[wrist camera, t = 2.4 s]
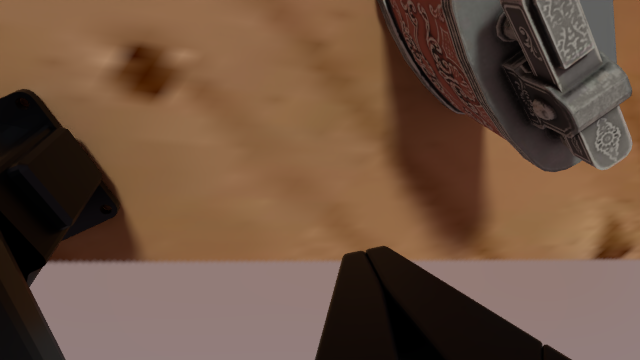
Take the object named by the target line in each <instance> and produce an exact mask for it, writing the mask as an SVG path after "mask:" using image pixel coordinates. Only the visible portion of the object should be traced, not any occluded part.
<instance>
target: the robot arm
mask: <svg viewBox="0 0 640 360" xmlns="http://www.w3.org/2000/svg"><path fill="white" fill-rule="evenodd" d="M20 98H25V99H26V100H27V101H28V102H29V104H30V105H29V107H25V106H23V105H22V104H21V103H20ZM105 204H106V205H109V206H110V207H111V210H106V209H104V208H103V206H102V205H105ZM118 210H119V202H118V201H117V199H116V198H115V197H114V195H113V194H112V193H111V191H110V190H109V189H108V187H107V186H106V185H105V184H104V182H103V181H102V174H101V172H100V171H99V170H98V168H97V167H96V166H95V164H94V163H93V162H92V160H91V159H90V158H89V156H88V155H87V154H86V152H85V151H84V150H83V148H82V147H81V146H80V145H79V143H78V142H77V141H76V139H75V138H74V137H73V135H72V134H71V133H70V131H69V130H68V129H65V128H63V127H61V126H60V125H59V123H58V122H57V121H56V119H55V118H54V117H53V116H52V114H51V113H50V112H49V110H48V109H47V108H46V106H45V105H44V104H43V102H42V101H41V100H40V99H39V97H38V96H37V95H36V94H35V93H34V92H32V91H30V90H27V89H21V90H17V91H15V92H13V93H11V94H9V95H7V96H5V97H2V98H0V360H65V358H64V356H63V354H62V352H61V350H60V348H59V346H58V344H57V342H56V340H55V338H54V336H53V334H52V332H51V330H50V328H49V326H48V324H47V322H46V320H45V318H44V316H43V314H42V312H41V310H40V308H39V306H38V304H37V302H36V300H35V298H34V296H33V294H32V292H31V290H30V288H29V287H30V285H31V284H32V282H33V281H34V279H35V278H36V276H37V275H38V273H39V272H40V270H41V269H42V267H43V266H45V265H46V263H47V262H48V260H49V259H50V257H51V255H52V254H53V252H54V251H55V249H56V248H57V246H58V245H59V243H60V242H61V241H62V240H65V239H67V238H69V237H71V236H73V235H76V234H78V233H80V232H82V231H84V230H86V229H89V228H91V227H93V226H95V225H97V224H100V223H102V222H104V221H106V220H108V219H111V218H113V217H114V216H115V215H116V214H117V212H118ZM315 360H571V359H570V358H568V357H566V356H565V355H563V354H562V353H560V352H558V351H557V350H555V349H553V348H552V347H550V346H548V345H544V346H543V347H542V343H541V342H540V341H539V340H537V339H536V338H534V337H532V336H531V335H529V334H528V333H526V332H524V331H523V330H521V329H519V328H518V327H516V326H515V325H513V324H511V323H510V322H508V321H506V320H505V319H503V318H502V317H500V316H498V315H497V314H495V313H494V312H492V311H490V310H489V309H487V308H486V307H484V306H482V305H481V304H479V303H478V302H476V301H474V300H473V299H471V298H469V297H468V296H466V295H465V294H463V293H461V292H460V291H458V290H456V289H455V288H453V287H452V286H450V285H448V284H447V283H445V282H443V281H442V280H440V279H439V278H437V277H435V276H433V275H432V274H430V273H429V272H427V271H426V270H424V269H422V268H421V267H419V266H418V265H416V264H414V263H413V262H411V261H410V260H408V259H406V258H405V257H403V256H401V255H400V254H398V253H397V252H395V251H393V250H392V249H390V248H388V247H386V246H380V247H376V248H371V249H367V250H366V252H364V251H357V252H352V253H347V254H345V255H344V256H343V258H342V262H341V265H340V269H339V273H338V276H337V280H336V284H335V287H334V291H333V295H332V299H331V302H330V306H329V310H328V313H327V317H326V321H325V325H324V328H323V332H322V336H321V339H320V343H319V347H318V350H317V354H316V358H315Z"/></svg>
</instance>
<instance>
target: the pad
mask: <svg viewBox="0 0 640 360" xmlns="http://www.w3.org/2000/svg"><path fill="white" fill-rule="evenodd" d="M579 1H580V4H581V6H582V9H583V12H584V14H585V17H586V20H587V22H588V25H589V27H590V30H591V33H592V35H593V38H594V41H595V43H596V46H597V49H599V50H600V51H602V52H603V53H604V54H605V55H606V56H607V57H608V58H609V59H610V60H612V61H613V62H615V63H617V59H616V43H615V27H614V11H613V0H579Z"/></svg>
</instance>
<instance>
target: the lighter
mask: <svg viewBox="0 0 640 360" xmlns="http://www.w3.org/2000/svg"><path fill="white" fill-rule="evenodd" d="M377 1H378V3H379V6H380V8H381V11H382V14H383V16H384V19H385V21H386V24H387V27H388V29H389V31H390V33H391V35H392V37H393V39H394V41H395V42H396V44H397V46H398V48H399V50H400V52H401V54H402V56H403V58H404V59H405V61H406V62H407V63H408V65H409V66H410V67H411V69H412V70H413V71H414V73H415V74H416V75H417V77H418V78H419V80H420V81H421V82H422V84H423V85H424V86H425V87H426V88H427V89H428V90H429V91H430V92H431V93H432V94H433V95H434V96H435V97H436V98H437V99H438V100H439V101H440V102H441V103H442V104H443V105H444V106H446V107H447V108H449V109H450V110H452V111H454V112H455V113H457V114H466V115H468V116H469V117H471V118H473V119H474V120H476V121H477V122H479V123H480V124H482V125H484V126H485V127H487V128H488V129H490V130H491V131H493V132H495V133H496V134H498V135H499V136H501V137H502V138H504V139H506V140H507V141H508V142H509V143H510V144H511V145H512V146H513V147H514V148H515V149H516V150H517V151H518V152H519V153H520V154H521V155H522V157H523V158H525V159H526V160H528V161H529V162H531V163H532V164H534V165H535V166H537V167H538V168H540V169H542V170H544V171H549V172H557V171H561V170H565V169H568V168H570V167H572V166H574V165H576V164H577V163H579V162H580V161H582V160H583V161H585V162H586V163H588V164H590V165H592V166H594V167H595V168H597V169H600V170H605V169H608V168H610V167H612V166H614V165H615V164H617V163H618V162H620V161H621V160H622V159H624V158H625V157H626V156H627V155H628V154H629V152H630V151H631V148H632V139H631V136H630V133H629V131H628V128H627V125H626V123H625V120H624V117H623V115H622V112H621V109H620V107H619V104H621V103H622V102H623V101H625V100H626V99H628V98H629V97H630V96H631V94H632V88H631V85H630V82H629V79H628V77H627V75H626V74H625V72H624V71H623V70H622V68H621V67H619V66H618V65H617V64H616V63H615V62H613V61H612V60H610V59H609V58H608V57H607V56H606V55H605V54H604V53H603V52H602V51H600V50H599V49H597V46H596V43H595V41H594V38H593V35H592V33H591V30H590V27H589V25H588V22H587V20H586V17H585V14H584V12H583V9H582V6H581V4H580V1H579V0H377Z"/></svg>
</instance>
